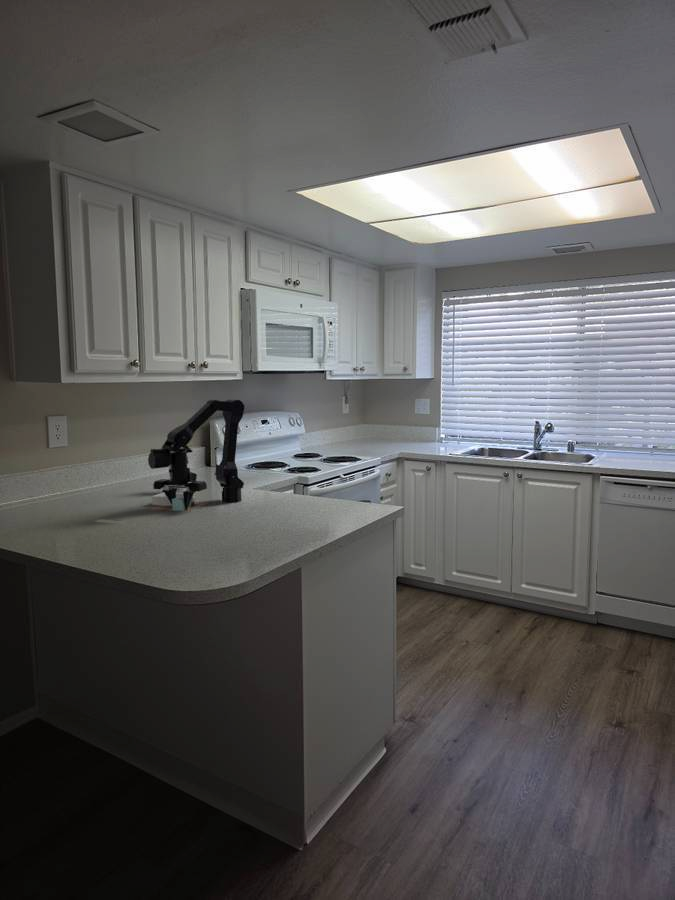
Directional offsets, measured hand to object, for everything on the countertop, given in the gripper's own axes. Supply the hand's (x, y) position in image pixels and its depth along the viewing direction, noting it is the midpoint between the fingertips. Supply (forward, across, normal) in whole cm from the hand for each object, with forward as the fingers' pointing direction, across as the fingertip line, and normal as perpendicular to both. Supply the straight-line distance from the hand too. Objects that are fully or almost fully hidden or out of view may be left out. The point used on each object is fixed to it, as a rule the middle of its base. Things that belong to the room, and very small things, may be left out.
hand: (180, 508), depth 222 cm
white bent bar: (0, +9, -7) cm, 11 cm away
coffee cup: (+1, +21, -32) cm, 38 cm away
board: (+1, +5, -5) cm, 7 cm away
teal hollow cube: (0, 0, 0) cm, 0 cm away
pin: (+1, 0, -7) cm, 7 cm away
